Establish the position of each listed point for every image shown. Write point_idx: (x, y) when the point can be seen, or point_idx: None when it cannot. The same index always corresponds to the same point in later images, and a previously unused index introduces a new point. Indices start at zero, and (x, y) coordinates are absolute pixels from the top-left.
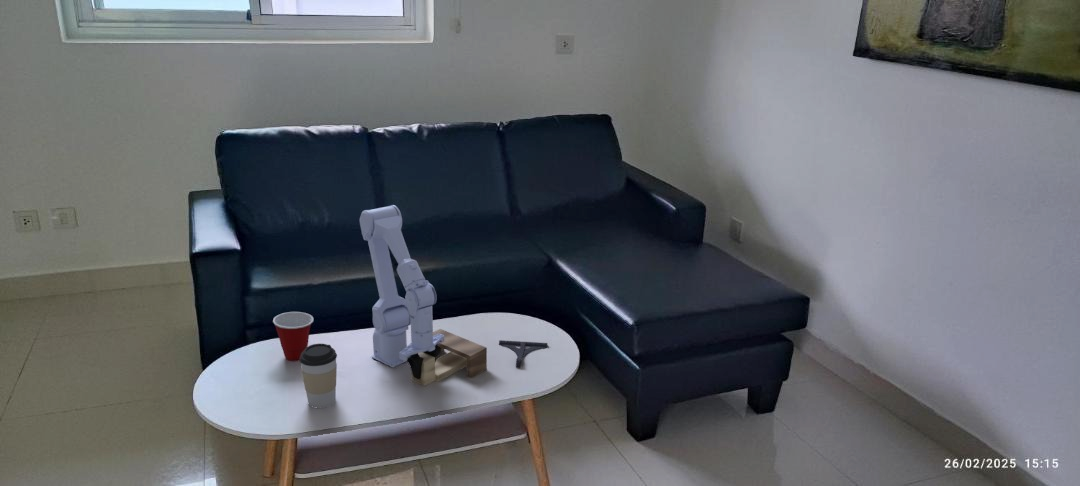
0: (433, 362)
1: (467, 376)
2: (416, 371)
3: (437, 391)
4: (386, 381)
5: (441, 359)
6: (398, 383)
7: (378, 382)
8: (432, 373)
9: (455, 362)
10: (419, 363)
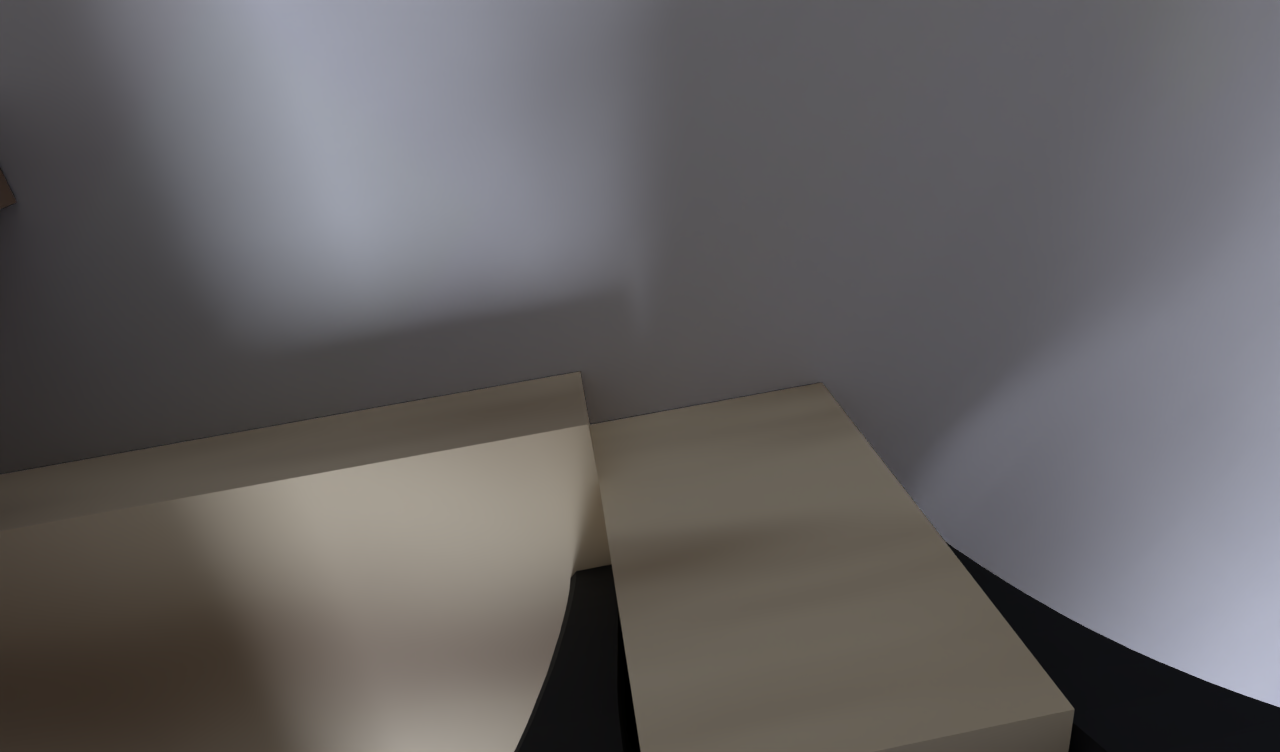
0: (678, 673)
1: (4, 182)
2: None
3: (791, 108)
4: None
5: None
6: None
7: None
8: (676, 496)
9: (34, 619)
10: (1212, 722)
